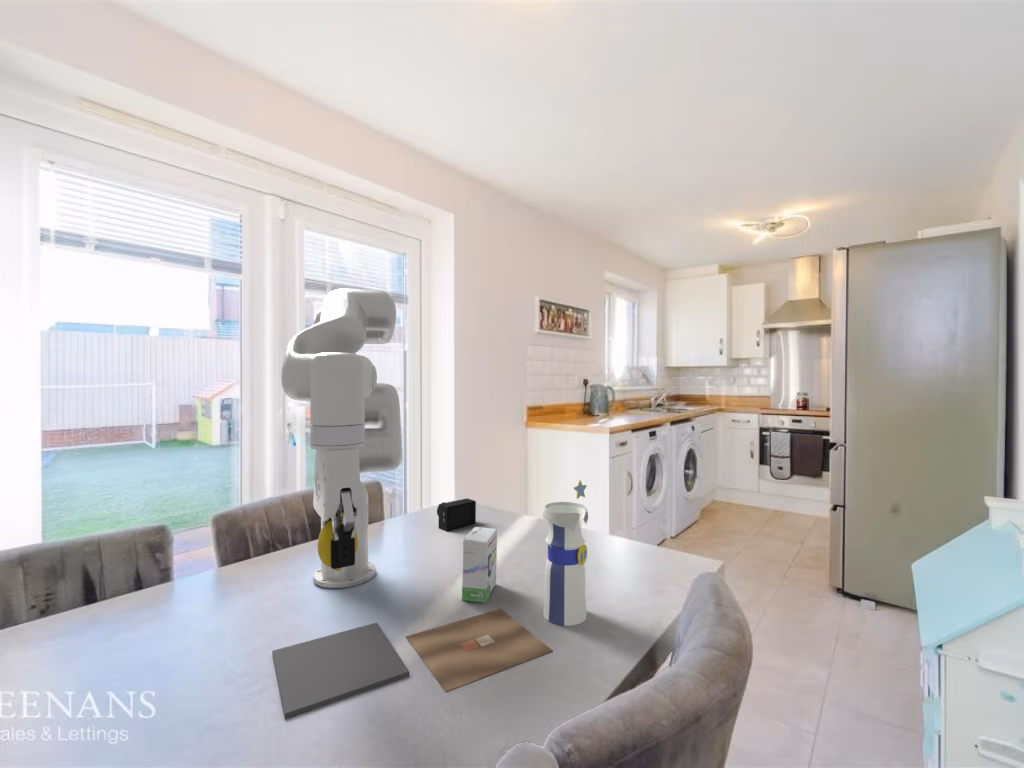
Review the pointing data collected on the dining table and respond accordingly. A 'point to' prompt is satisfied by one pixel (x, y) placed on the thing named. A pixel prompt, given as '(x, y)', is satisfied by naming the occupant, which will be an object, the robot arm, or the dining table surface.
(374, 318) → the robot arm
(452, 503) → the digital camera
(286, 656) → the rubber mat
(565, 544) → the water bottle
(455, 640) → the board
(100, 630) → the dining table surface
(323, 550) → the lemon
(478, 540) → the ink box
